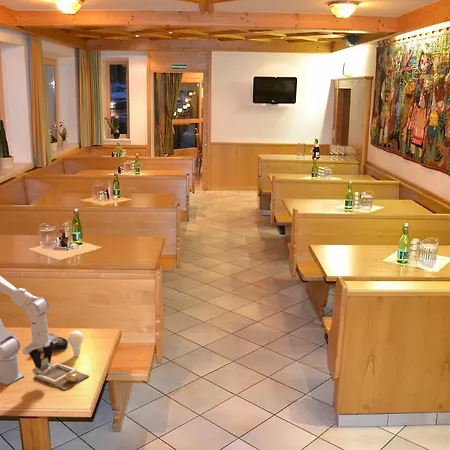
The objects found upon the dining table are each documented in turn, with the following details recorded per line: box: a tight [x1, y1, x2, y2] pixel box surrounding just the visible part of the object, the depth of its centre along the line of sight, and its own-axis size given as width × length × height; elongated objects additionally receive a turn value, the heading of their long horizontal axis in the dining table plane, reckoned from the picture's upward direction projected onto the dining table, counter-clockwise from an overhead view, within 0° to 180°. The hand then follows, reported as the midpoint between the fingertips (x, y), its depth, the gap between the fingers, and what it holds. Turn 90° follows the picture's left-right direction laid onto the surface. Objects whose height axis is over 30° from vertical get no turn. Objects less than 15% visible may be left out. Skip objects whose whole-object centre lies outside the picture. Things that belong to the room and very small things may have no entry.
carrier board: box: [33, 367, 90, 391], centre depth 220 cm, size 18×12×1 cm
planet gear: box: [32, 354, 54, 376], centre depth 213 cm, size 8×8×6 cm
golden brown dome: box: [66, 371, 78, 384], centre depth 217 cm, size 4×4×2 cm
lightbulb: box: [67, 330, 84, 357], centre depth 237 cm, size 6×6×11 cm
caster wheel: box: [37, 332, 69, 353], centre depth 244 cm, size 7×11×10 cm
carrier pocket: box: [35, 362, 78, 384], centre depth 222 cm, size 11×11×1 cm
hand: (43, 364), depth 213 cm, fingers closed on planet gear, 4 cm apart
